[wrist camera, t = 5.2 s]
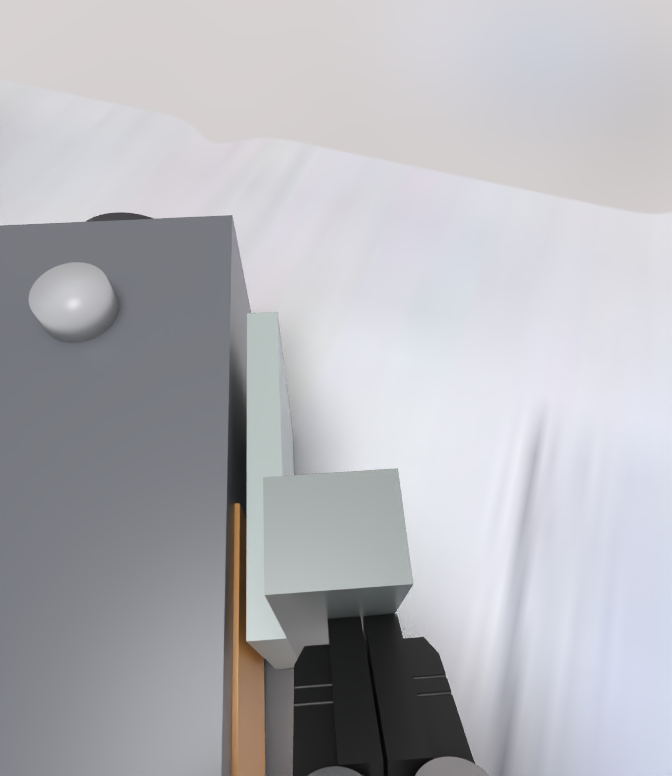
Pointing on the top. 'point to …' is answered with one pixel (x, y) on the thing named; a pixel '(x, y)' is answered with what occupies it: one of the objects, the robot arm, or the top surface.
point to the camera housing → (125, 501)
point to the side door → (310, 524)
